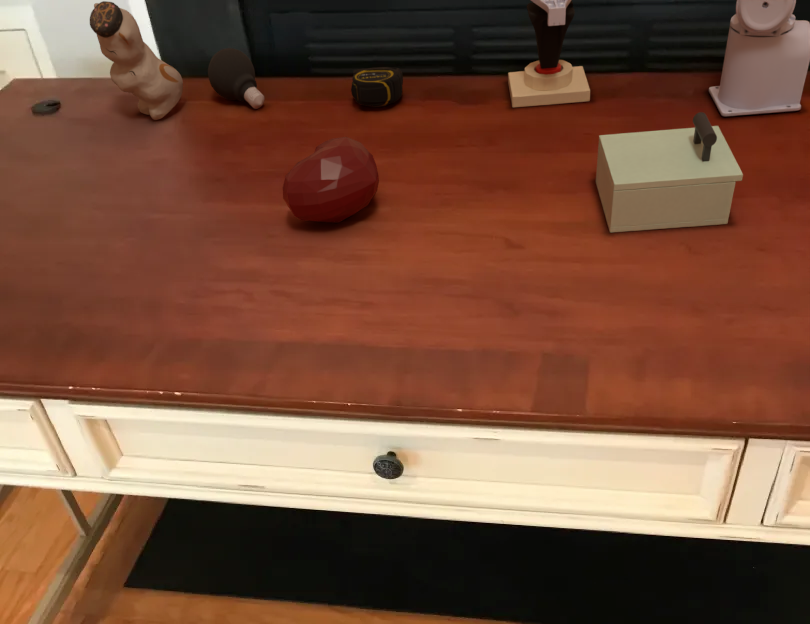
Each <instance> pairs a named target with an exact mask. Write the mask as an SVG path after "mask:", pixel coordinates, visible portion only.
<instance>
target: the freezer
mask: <svg viewBox="0 0 810 624" xmlns="http://www.w3.org/2000/svg"><path fill="white" fill-rule="evenodd" d="M596 162H597V163H596V173H595V184H596V188H597V192H598V195H599V199H600V203H601V206H602V209H603V213H604V216H605V220H606V224H607V227H608V230H609V233H622V232H623V233H624V232H636V231H637V232H639V231H649V230H664V229H677V228H678V229H679V228H690V227H691V228H692V227H693V228H694V227H706V226H717V225H727V224H728V222H729V217H730V214H731V213H730V212H731V208H732V203H733V197H734V192H735V187H736V182H737V181H733V182H720V183H707V184H694V185H681V186H668V187H655V188H642V189H629V190H616V191H614V190H613V186H612V183H611V180H610V176H609V173H608V170H607V167H606V163H605V160H604V157H603V153H602V150H601V147H600V144H599V143H598V146H597V160H596Z"/></svg>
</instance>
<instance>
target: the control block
mask: <svg viewBox="0 0 810 624" xmlns="http://www.w3.org/2000/svg"><path fill="white" fill-rule="evenodd" d="M558 63H559V64H561V72H558V73H555V74H547V75H546V74H539V73H537V72H536V66H537V65H538V64H540V62H539V59H538V60H536V61H533V62H529V64H527V65H526V66H525V67H524V70H519V71H510V72H507V85H508V90H509V96H510V102H511V107H512V109H513V108H526V107H537V106H551V105H559V104H560V105H561V104H571V103H572V104H573V103H583V102H590V100H591V88H590V85H589V81H588V79H587V75H586V73H585V69H584V66H583V65H579V66H573V65H572V64H571V63H570V62H568V61H566V60H564V59H559V62H558Z"/></svg>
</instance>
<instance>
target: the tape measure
mask: <svg viewBox="0 0 810 624" xmlns="http://www.w3.org/2000/svg"><path fill="white" fill-rule="evenodd" d="M351 80H352V81H351V87H350V92H351V96H352V98H353V99H354V100H355V102H356V103H357V104H358V105H360V106H363V107H370V108H371V107H373V108H379V107H380V108H381V107H387V105H392V104H394V103H396V102H398V101H399V100H400V99H401V98H402V96H403V85H404V76H403V72H402V70H401V69H400V68H399V67H394V66H379V67H368V68H356V69H354V70H353V72H352V79H351Z"/></svg>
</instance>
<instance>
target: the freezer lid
mask: <svg viewBox="0 0 810 624" xmlns="http://www.w3.org/2000/svg"><path fill="white" fill-rule="evenodd" d="M692 123H693V125H694V127H686V128H672V129H660V130H647V131H636V132H635V131H634V132H624V133H623V132H622V133H609V134H600V135H598V145H599V144H600V147H601V150H602V153H603V157H604V160H605V163H606V167H607V170H608V173H609V176H610V180H611V183H612V186H613V190H614V191H616V190H629V189H642V188H655V187H668V186H681V185H694V184H707V183H720V182H733V181H735V182H742V181H743V177H744V173H743V171H742V170H741V167H740V165H739V164H738V161H737V160H736V158H735V156H734V154H733V152H732V150H731V148H730V146H729V144H728V142H727V140H726V138H725V136H724V134H723V132H722V130H721V128H720V127H719V125H712V124H711V122H710V120H709V117H708V116H707V114H706V113H705V112H702V111H699V112H697V113H696V114H695V115H694V116H693V118H692Z"/></svg>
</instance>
